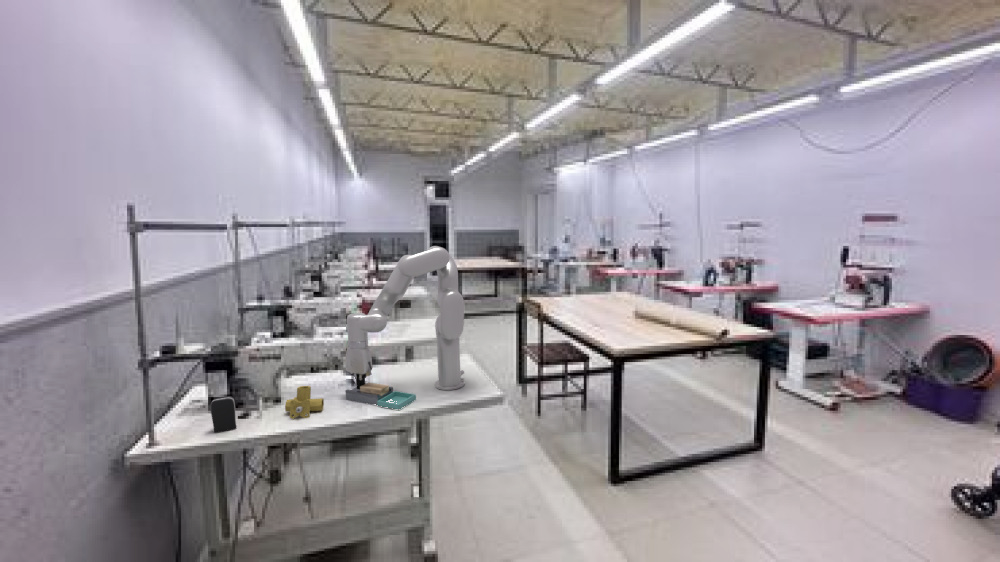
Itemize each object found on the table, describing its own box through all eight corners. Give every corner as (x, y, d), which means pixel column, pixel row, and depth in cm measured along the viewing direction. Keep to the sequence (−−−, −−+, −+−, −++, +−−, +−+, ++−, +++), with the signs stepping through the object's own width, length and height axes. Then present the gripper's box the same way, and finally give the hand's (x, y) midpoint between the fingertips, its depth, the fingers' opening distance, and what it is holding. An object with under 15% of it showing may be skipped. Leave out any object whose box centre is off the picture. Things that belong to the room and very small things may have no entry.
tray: (395, 396, 179) (395, 390, 178) (416, 399, 175) (415, 394, 174) (377, 406, 169) (377, 401, 168) (399, 410, 165) (398, 404, 164)
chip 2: (378, 389, 178) (378, 383, 178) (389, 391, 176) (388, 385, 176) (370, 394, 173) (370, 388, 173) (380, 395, 171) (380, 389, 171)
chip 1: (368, 388, 180) (368, 382, 179) (378, 389, 178) (378, 383, 177) (360, 392, 175) (360, 386, 175) (370, 394, 173) (370, 388, 173)
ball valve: (288, 412, 167) (280, 420, 157) (289, 385, 167) (281, 391, 157) (324, 411, 169) (318, 419, 159) (324, 384, 169) (318, 391, 160)
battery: (238, 424, 156) (234, 393, 154) (236, 429, 152) (233, 397, 151) (214, 429, 153) (211, 397, 151) (213, 433, 149) (209, 401, 148)
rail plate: (362, 391, 185) (361, 382, 184) (393, 396, 178) (392, 387, 178) (346, 399, 176) (345, 390, 176) (378, 405, 170) (377, 395, 169)
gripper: (337, 344, 175) (340, 389, 178) (366, 348, 169) (369, 394, 172) (350, 340, 182) (353, 382, 185) (379, 343, 176) (381, 387, 178)
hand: (361, 388), depth 178 cm, fingers closed
